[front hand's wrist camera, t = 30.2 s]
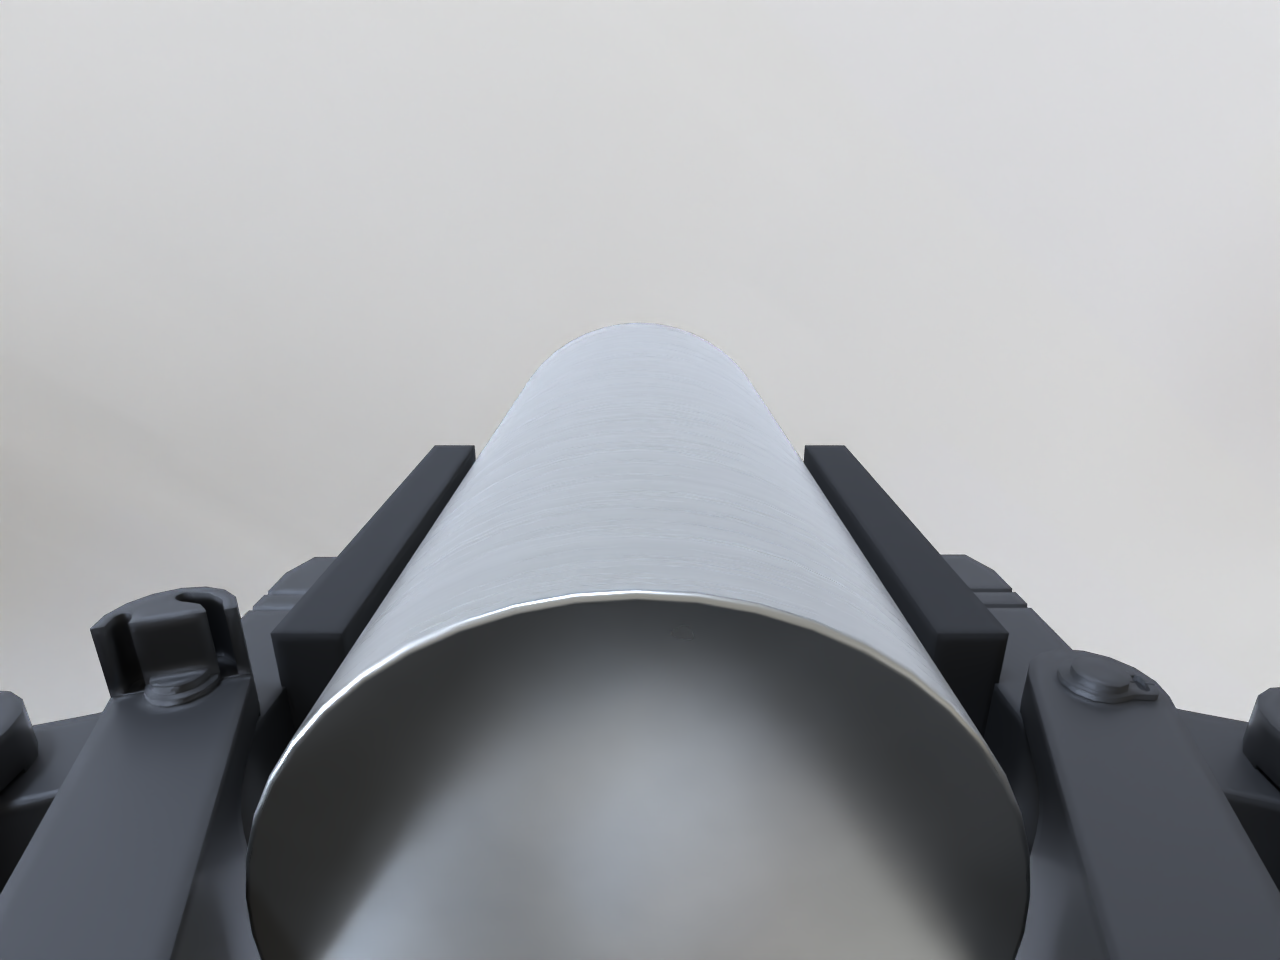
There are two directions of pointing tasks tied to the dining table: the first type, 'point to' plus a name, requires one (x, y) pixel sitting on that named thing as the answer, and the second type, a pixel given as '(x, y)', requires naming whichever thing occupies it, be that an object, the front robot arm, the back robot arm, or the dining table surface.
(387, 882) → the canister
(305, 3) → the dining table surface
